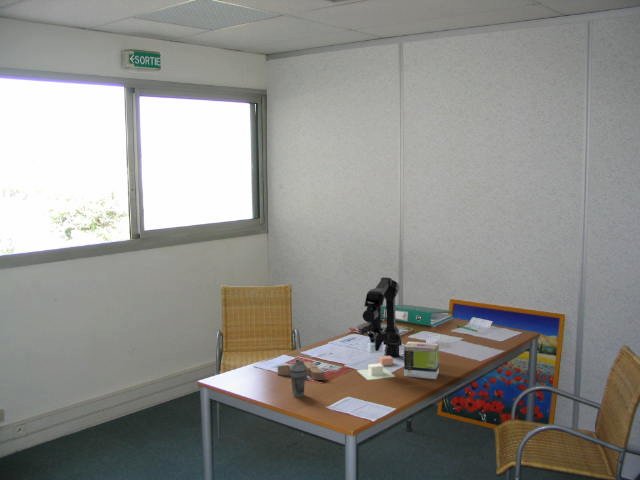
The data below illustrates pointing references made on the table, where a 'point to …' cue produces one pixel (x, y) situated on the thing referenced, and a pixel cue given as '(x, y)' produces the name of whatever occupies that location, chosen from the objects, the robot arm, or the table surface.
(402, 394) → the table surface
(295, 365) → the beverage cup
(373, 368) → the brick cream
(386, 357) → the brick rust
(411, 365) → the tea box
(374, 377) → the baseplate
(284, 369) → the wooden block set
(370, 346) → the brick blue
